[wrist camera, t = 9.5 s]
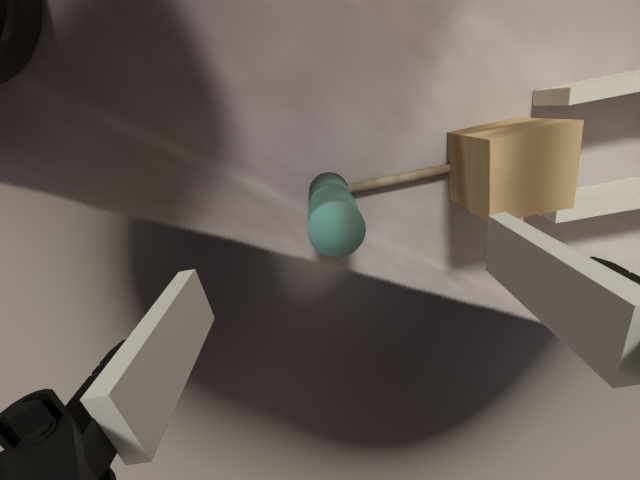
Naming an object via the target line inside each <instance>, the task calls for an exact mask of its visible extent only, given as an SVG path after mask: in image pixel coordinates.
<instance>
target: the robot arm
mask: <svg viewBox="0 0 640 480" xmlns="http://www.w3.org/2000/svg"><path fill="white" fill-rule="evenodd" d="M40 22H41V0H0V83H2V82H4V81H6V80H8V79H9V78H11V77H12V76H14V75H15V74H16V73H17V72H18V71H19V70H20V69H21V68H22V67H23V66H24V65H25V64H26V62H27V61H28V59H29V58H30V56H31V54H32V52H33V50H34V47H35V45H36V42H37V39H38V35H39V30H40ZM486 271H488V272H489V273H490V274H491V275H492V276H493V277H494V278H495V279H496V280H497V281H498V282H499V283H500V284H501V285H503V286H504V287H505V288H506V289H507V290H508V291H509V292H510V293H511V294H512V295H513V296H514V297H515V298H516V299H518V300H519V301H520V302H521V303H522V304H523V305H524V306H525V307H526V308H527V309H528V310H529V311H530V312H532V313H533V314H534V315H535V316H536V317H537V318H538V319H539V320H540V321H541V322H542V323H543V324H544V325H545V326H547V327H548V328H549V329H550V330H551V331H552V332H553V333H554V334H555V335H556V336H557V337H558V338H559V339H560V340H562V341H563V342H564V343H565V344H566V345H567V346H568V347H569V348H570V349H571V350H572V351H573V352H574V353H576V354H577V355H578V356H579V357H580V358H581V359H582V360H583V361H584V362H585V363H586V364H587V365H588V366H589V367H591V368H592V369H593V370H594V371H595V372H596V373H597V374H598V375H599V376H600V377H601V378H602V379H603V380H605V381H606V382H607V383H608V384H609V385H610V386H611V387H612V388H619V387H625V386H632V385H638V384H640V276H638V275H636V274H634V273H629V271H628V270H626V269H624V268H622V267H620V266H618V265H616V264H615V263H613V262H609V261H606V260H603V259H599V258H596V257H587V256H586V255H584V254H582V253H580V252H578V251H576V250H575V249H573V248H571V247H569V246H567V245H565V244H564V243H562V242H560V241H558V240H556V239H554V238H553V237H551V236H549V235H547V234H545V233H543V232H542V231H540V230H538V229H536V228H534V227H532V226H531V225H529V224H527V223H525V222H523V221H521V220H520V219H518V218H516V217H514V216H512V215H510V214H509V213H507V212H502V213H497V214H491V215H488V220H487V250H486ZM213 320H214V316H213V313H212V311H211V308H210V305H209V303H208V301H207V298H206V296H205V293H204V291H203V288H202V285H201V283H200V280H199V278H198V275H197V273H196V270H195V269H193V270H187V271H182V272H178V274H177V275H176V276H175V277H174V279H173V280H172V281H171V283H170V284H169V285H168V286H167V288H166V289H165V290H164V292H163V293H162V294H161V296H160V297H159V298H158V299H157V301H156V302H155V303H154V305H153V306H152V307H151V308H150V310H149V311H148V312H147V314H146V315H145V316H144V317H143V319H142V320H141V321H140V323H139V324H138V325H137V327H136V328H135V329H134V330H133V332H132V333H131V334H130V336H129V337H128V338H127V339H126V340H123V341H122V342H120V343H119V344H118V345H117V346H116V347H114V348H113V349H112V350H111V351H109V353H108V354H107V355H106V356H105V357H104V359H103V360H102V361H101V362H100V366H97V368H96V369H95V370H94V371H93V372H92V376H89V377H88V379H87V380H86V381H85V382H84V383H83V385H82V386H81V387H80V389H79V390H78V391H77V392H76V394H75V395H74V396H73V397H72V398H71V400H70V401H69V402H68V403H67V405H66V406H64V405H63V403H62V402H61V400H60V399H59V398H58V396H57V395H56V394H55V392H54V391H53V390H52V389H43V390H39V391H36V392H33V393H31V394H29V395H26V396H24V397H23V398H21V399H19V400H18V401H16V402H14V403H13V404H11V405H10V406H9V407H8V408H7V409H5V410H4V411H3V412H1V413H0V445H1V446H2V447H3V448H4V450H3V451H1V452H0V480H116V476H115V473H114V472H113V471H112V469H111V468H110V465H111V463H112V461H113V459H114V457H115V456H116V454H117V453H118V455H119V456H120V457H121V459H122V460H123V462H124V463H125V465H131V464H139V463H144V462H151V461H152V459H153V457H154V454H155V452H156V450H157V447H158V445H159V443H160V441H161V438H162V436H163V434H164V431H165V429H166V427H167V425H168V422H169V420H170V418H171V415H172V413H173V411H174V409H175V407H176V404H177V402H178V400H179V397H180V395H181V393H182V391H183V388H184V386H185V384H186V381H187V379H188V377H189V375H190V372H191V370H192V368H193V366H194V363H195V361H196V359H197V357H198V354H199V352H200V350H201V347H202V345H203V343H204V341H205V338H206V336H207V334H208V332H209V329H210V327H211V325H212V322H213Z"/></svg>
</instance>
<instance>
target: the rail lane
mask: <svg viewBox="0 0 640 480" xmlns="http://www.w3.org/2000/svg"><path fill="white" fill-rule="evenodd" d="M635 92H640V70H635V71H630V72H625V73H620V74H615V75H610V76H605V77H600V78H594V79H589V80H584V81H579V82H574V83H569V84H564V85H559V86H554V87H549V88H544V89H539V90H534V93H533V106H568V105H574V104H579V103H584V102H589V101H594V100H599V99H604V98H610V97H615V96H620V95H625V94H630V93H635ZM634 209H640V177H635V178H629V179H624V180H618V181H613V182H607V183H602V184H596V185H591V186H585V187H580V188H576V193H575V202H574V208H569V209H564V210H559V211H554V212H549V213H544V214H539V215H538V216H540V217H543V218H545V219H547V220H549V221H551V222H553V223H561V222H566V221H572V220H578V219H583V218H589V217H595V216H600V215H606V214H612V213H617V212H623V211H628V210H634Z"/></svg>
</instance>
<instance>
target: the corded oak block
mask: <svg viewBox="0 0 640 480" xmlns="http://www.w3.org/2000/svg"><path fill="white" fill-rule="evenodd" d="M583 125H584V120H572V119H545V118H513V119H508V120H504V121H499V122H495V123H490V124H485V125H481V126H476V127H471V128H467V129H462V130H457V131H453V132H448V133H447V141H448V163H449V164H445V165H440V166H436V167H431V168H426V169H421V170H416V171H412V172H407V173H402V174H397V175H393V176H388V177H383V178H378V179H373V180H369V181H364V182H359V183H354V184H349V185H347V183H346V182H345V180H344V179H343V178H342V177H341V176H340V175H338V174H335V173H331V172H327V173H323V174H320V175H318V176H317V177H316V178H315V179H314V180H313V181H312V183H311V185H310V188H309V212H308V236H309V240H310V242H311V244H312V245H313V247H314V248H315V249H316V250H317V251H318V252H320V253H321V254H323V255H326V256H329V257H343V256H346V255H349V254H351V253H352V252H354V251H355V250H356V249H357V248H358V247H359V246H360V245H361V243H362V242H363V240H364V237H365V232H366V227H365V222H364V219H363V217H362V215H361V213H360V211H359V209H358V207H357V204H356V202H355V200H354V198H353V196H352V194H351V193H355V192H360V191H365V190H369V189H374V188H379V187H384V186H389V185H394V184H398V183H403V182H408V181H413V180H418V179H422V178H427V177H432V176H437V175H442V174H447V173H449V185H450V199H451V200H453V201H454V202H456V203H457V204H459V205H460V206H462V207H463V208H465V209H467V210H468V211H470V212H471V213H473V214H474V215H476V216H477V217H479V218H481V219H482V220H484V221H485V222H487V220H488V215H491V214H497V213H502V212H507V213H509V214H510V215H512V216H514V217H516V218H518V219H519V218H524V217H529V216H534V215H539V214H544V213H549V212H554V211H559V210H564V209H569V208H574V202H575V193H576V185H577V176H578V168H579V159H580V150H581V142H582V133H583Z"/></svg>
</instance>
